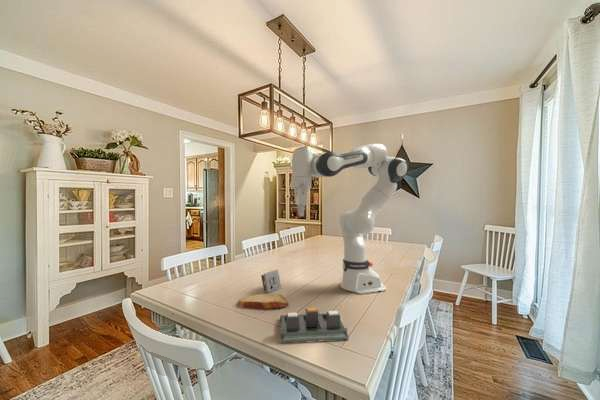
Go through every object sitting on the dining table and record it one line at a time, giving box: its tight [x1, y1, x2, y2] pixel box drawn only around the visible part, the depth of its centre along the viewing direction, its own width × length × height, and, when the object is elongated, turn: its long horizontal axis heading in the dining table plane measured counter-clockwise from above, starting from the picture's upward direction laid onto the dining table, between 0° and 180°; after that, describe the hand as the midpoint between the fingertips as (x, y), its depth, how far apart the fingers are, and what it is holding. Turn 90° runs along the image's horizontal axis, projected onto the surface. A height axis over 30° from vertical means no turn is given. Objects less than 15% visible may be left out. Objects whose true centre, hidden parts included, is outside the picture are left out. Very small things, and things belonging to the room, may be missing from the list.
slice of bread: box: [236, 293, 289, 310], centre depth 104 cm, size 18×18×4 cm
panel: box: [279, 312, 349, 344], centre depth 85 cm, size 22×15×2 cm
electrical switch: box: [260, 269, 282, 294], centre depth 121 cm, size 9×5×9 cm, turn 141°
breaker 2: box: [326, 310, 341, 329], centre depth 83 cm, size 4×3×6 cm
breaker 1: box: [286, 312, 299, 331], centre depth 81 cm, size 4×3×6 cm
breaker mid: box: [305, 307, 319, 327], centre depth 85 cm, size 4×3×6 cm
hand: (300, 215), depth 106 cm, fingers open, 8 cm apart
